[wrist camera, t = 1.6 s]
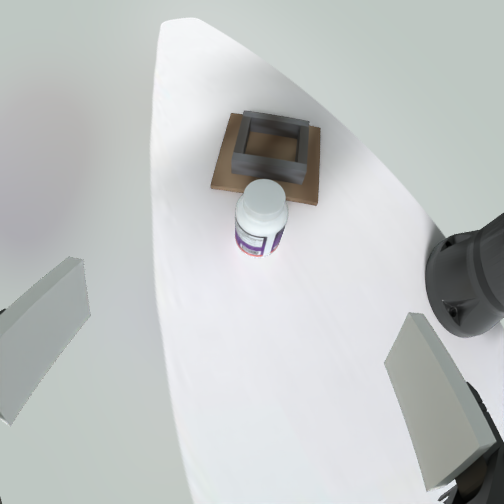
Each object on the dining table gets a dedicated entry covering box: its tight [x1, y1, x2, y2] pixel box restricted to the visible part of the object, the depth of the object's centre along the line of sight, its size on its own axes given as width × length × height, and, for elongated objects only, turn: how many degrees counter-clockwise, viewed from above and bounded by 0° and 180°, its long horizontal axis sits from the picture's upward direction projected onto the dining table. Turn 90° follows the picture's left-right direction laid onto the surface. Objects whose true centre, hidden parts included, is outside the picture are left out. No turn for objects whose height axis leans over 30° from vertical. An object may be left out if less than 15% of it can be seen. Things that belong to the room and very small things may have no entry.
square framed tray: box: [211, 111, 320, 206], centre depth 40 cm, size 14×14×4 cm
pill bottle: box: [235, 179, 288, 258], centre depth 32 cm, size 5×5×10 cm
